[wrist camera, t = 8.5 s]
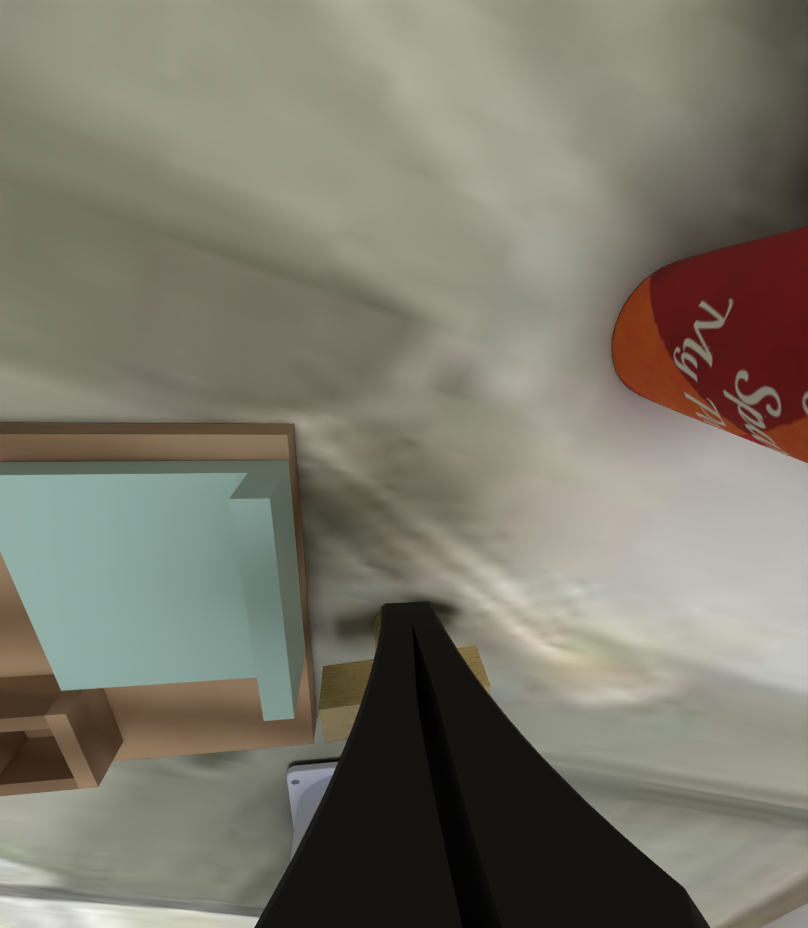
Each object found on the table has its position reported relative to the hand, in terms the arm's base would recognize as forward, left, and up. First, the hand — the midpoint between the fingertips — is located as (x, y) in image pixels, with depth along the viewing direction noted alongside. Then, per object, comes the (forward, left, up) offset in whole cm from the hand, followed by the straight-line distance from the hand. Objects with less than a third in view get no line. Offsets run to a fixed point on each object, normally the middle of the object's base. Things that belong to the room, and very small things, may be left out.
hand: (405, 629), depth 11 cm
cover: (-2, +9, -6) cm, 11 cm away
